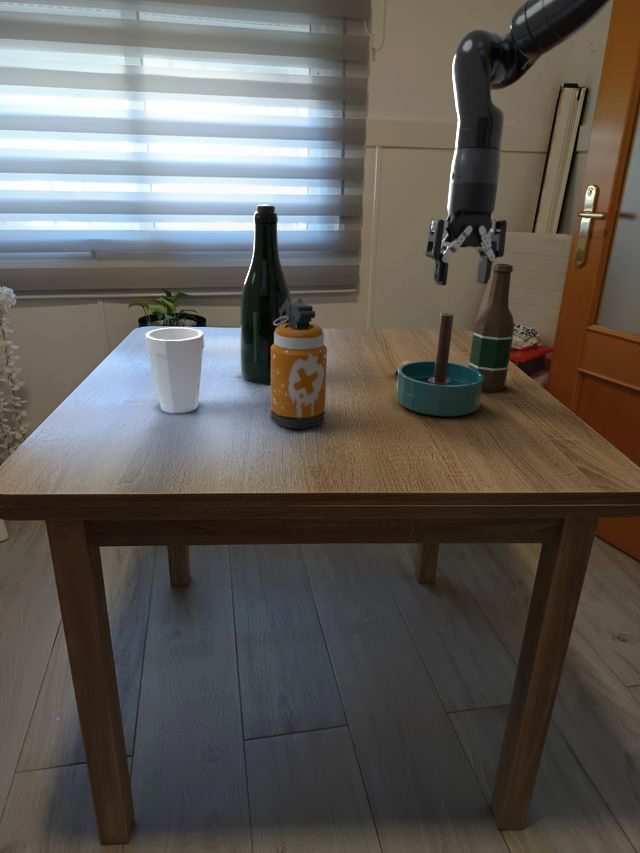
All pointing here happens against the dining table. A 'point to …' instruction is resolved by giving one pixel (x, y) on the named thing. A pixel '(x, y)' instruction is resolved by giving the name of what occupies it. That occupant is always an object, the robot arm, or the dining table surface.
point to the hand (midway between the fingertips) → (461, 284)
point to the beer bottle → (494, 333)
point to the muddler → (442, 350)
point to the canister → (298, 368)
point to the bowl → (439, 389)
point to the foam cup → (176, 366)
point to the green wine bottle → (262, 298)
